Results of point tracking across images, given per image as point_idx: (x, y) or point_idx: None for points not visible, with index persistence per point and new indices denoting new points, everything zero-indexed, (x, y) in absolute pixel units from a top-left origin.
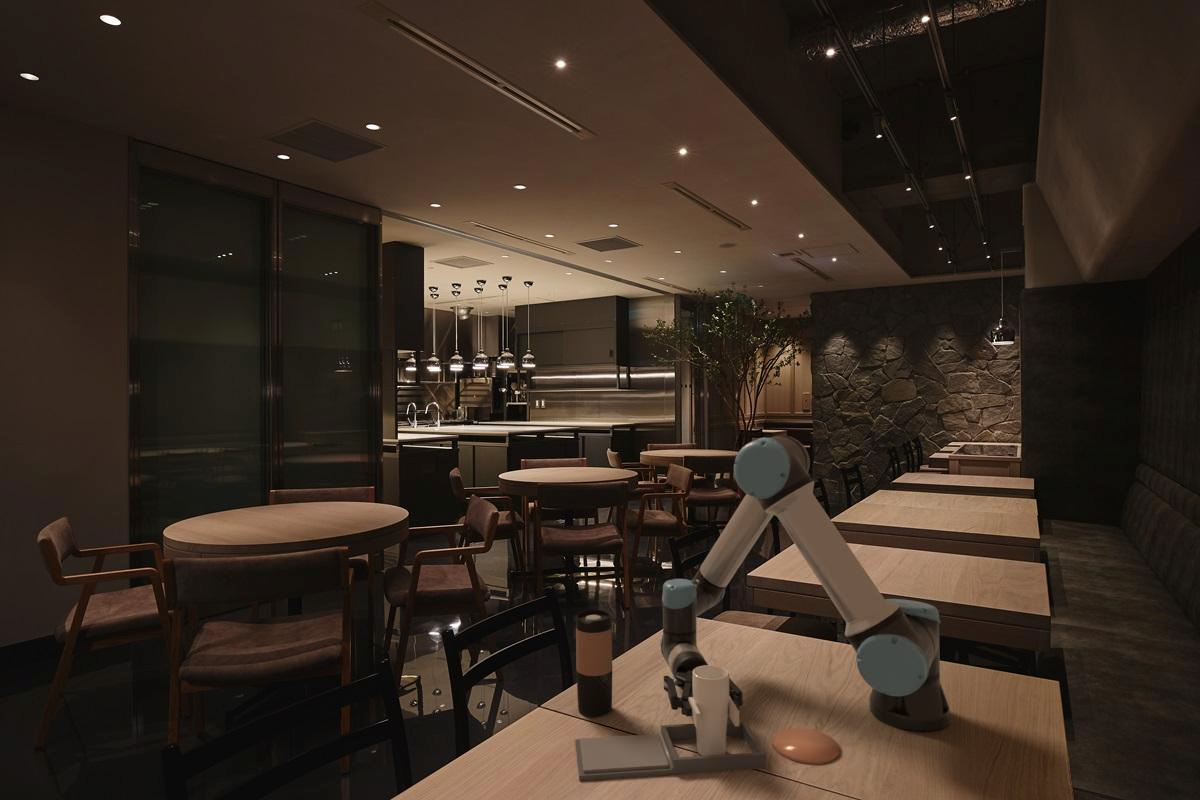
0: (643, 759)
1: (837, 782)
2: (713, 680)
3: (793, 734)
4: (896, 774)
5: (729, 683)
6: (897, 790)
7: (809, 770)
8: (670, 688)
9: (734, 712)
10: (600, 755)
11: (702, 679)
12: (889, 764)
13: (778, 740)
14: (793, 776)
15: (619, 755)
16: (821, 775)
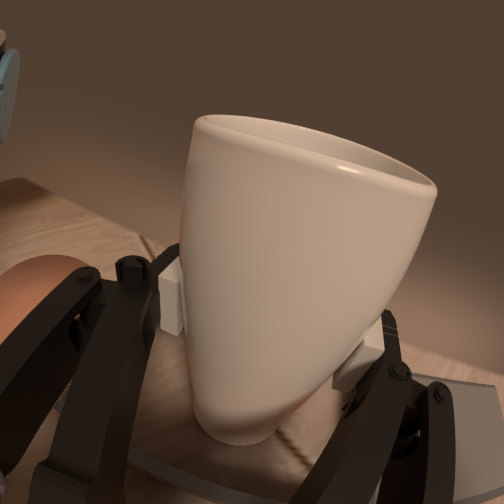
0: None
1: (112, 237)
2: (331, 140)
3: (14, 325)
4: (51, 217)
5: (14, 365)
6: (84, 208)
7: (110, 265)
8: (450, 483)
9: None
10: (485, 425)
11: (379, 159)
12: (32, 226)
13: None
14: None
15: (461, 422)
16: (111, 251)
